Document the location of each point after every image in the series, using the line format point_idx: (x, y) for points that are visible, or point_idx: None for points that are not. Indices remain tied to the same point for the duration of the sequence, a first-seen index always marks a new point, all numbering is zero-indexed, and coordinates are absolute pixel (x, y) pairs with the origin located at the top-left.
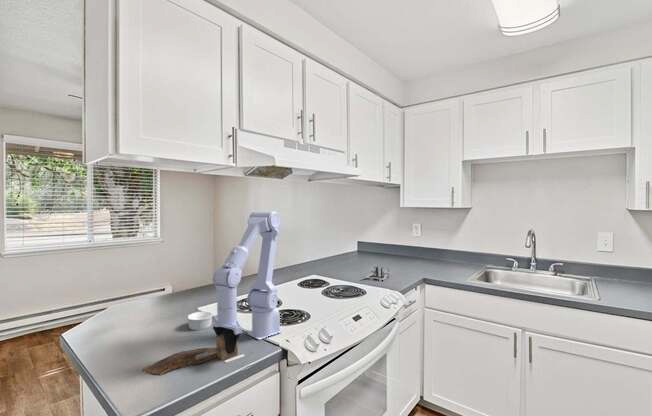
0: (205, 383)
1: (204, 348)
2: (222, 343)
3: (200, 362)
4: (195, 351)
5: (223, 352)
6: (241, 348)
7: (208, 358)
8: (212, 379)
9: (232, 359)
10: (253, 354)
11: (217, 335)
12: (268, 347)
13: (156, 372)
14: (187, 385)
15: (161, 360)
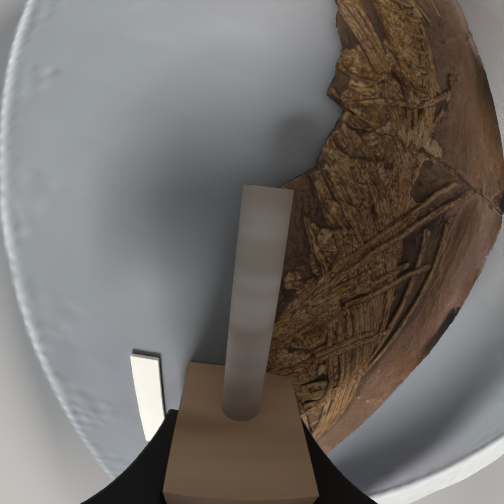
0: (12, 135)
1: (426, 349)
2: (169, 463)
3: None
4: (446, 292)
5: (181, 405)
6: None
7: (284, 311)
8: (16, 184)
9: (142, 393)
10: None
11: (332, 496)
12: None
13: None
14: (67, 45)
15: (487, 91)
